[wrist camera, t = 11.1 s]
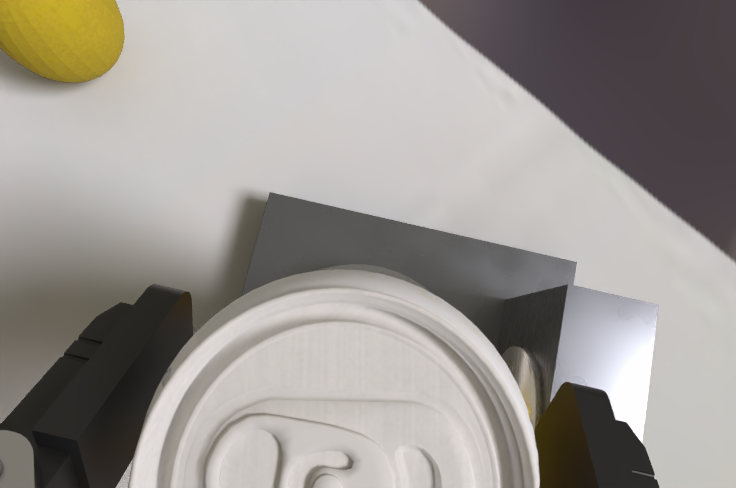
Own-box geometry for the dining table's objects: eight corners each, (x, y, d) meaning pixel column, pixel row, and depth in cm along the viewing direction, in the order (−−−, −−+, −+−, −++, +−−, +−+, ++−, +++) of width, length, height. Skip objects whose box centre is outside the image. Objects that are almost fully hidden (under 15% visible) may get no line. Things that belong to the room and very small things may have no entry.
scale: (194, 506, 23) (91, 613, 14) (276, 203, 26) (234, 134, 17) (509, 583, 23) (606, 741, 14) (559, 267, 25) (667, 231, 17)
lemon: (36, 32, 27) (-94, -90, 19) (134, 4, 28) (46, -127, 20) (59, 122, 26) (-68, 31, 19) (160, 91, 27) (79, -10, 19)
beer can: (411, 470, 20) (548, 816, 6) (266, 446, 21) (33, 726, 6) (431, 324, 22) (590, 297, 7) (294, 301, 22) (158, 226, 7)
